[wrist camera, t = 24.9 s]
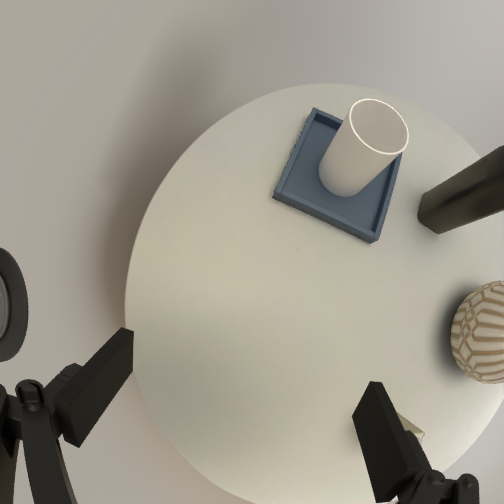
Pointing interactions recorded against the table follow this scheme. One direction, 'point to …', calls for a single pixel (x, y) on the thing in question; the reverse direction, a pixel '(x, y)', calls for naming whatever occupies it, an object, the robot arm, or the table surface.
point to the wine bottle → (466, 195)
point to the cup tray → (323, 201)
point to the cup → (362, 147)
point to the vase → (480, 334)
